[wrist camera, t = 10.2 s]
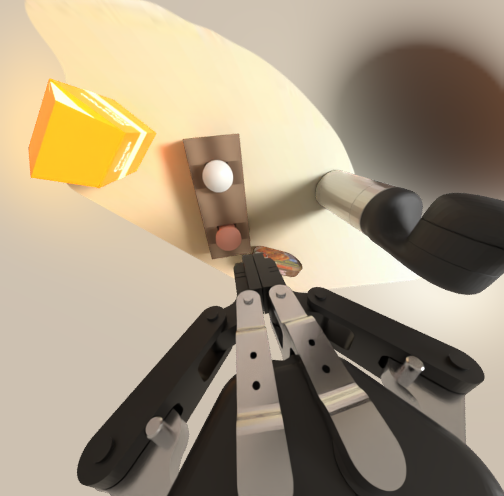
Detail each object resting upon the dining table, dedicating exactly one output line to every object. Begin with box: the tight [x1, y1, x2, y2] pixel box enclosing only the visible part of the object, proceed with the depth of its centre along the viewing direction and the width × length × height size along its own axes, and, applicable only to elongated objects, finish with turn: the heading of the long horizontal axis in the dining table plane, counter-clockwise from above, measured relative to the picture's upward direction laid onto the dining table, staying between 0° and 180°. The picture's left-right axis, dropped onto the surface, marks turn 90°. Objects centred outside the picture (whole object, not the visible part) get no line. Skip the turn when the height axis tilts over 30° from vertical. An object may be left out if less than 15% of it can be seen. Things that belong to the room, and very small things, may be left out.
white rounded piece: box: [203, 160, 233, 192], centre depth 37 cm, size 6×6×6 cm
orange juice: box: [29, 79, 156, 188], centre depth 26 cm, size 8×9×20 cm
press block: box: [183, 134, 251, 259], centre depth 42 cm, size 10×26×5 cm, turn 5°
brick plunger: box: [216, 224, 241, 251], centre depth 43 cm, size 6×6×6 cm
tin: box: [252, 246, 302, 277], centre depth 51 cm, size 15×3×8 cm, turn 68°
